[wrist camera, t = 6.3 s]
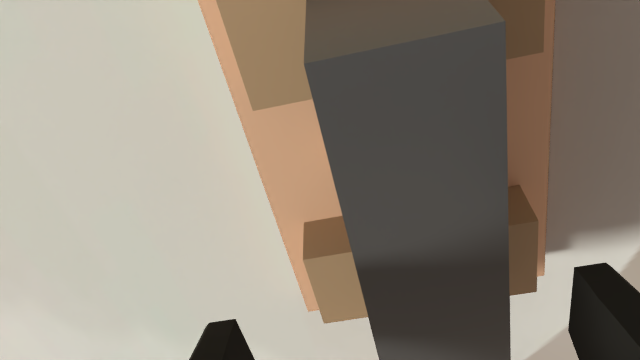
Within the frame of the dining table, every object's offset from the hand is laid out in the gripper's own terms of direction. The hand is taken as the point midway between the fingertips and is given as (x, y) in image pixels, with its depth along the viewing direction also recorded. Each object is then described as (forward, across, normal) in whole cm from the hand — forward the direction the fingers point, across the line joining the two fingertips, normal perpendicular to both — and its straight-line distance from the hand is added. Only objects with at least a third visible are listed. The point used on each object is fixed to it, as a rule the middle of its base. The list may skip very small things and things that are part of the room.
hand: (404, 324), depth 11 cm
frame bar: (+6, -1, 0) cm, 6 cm away
